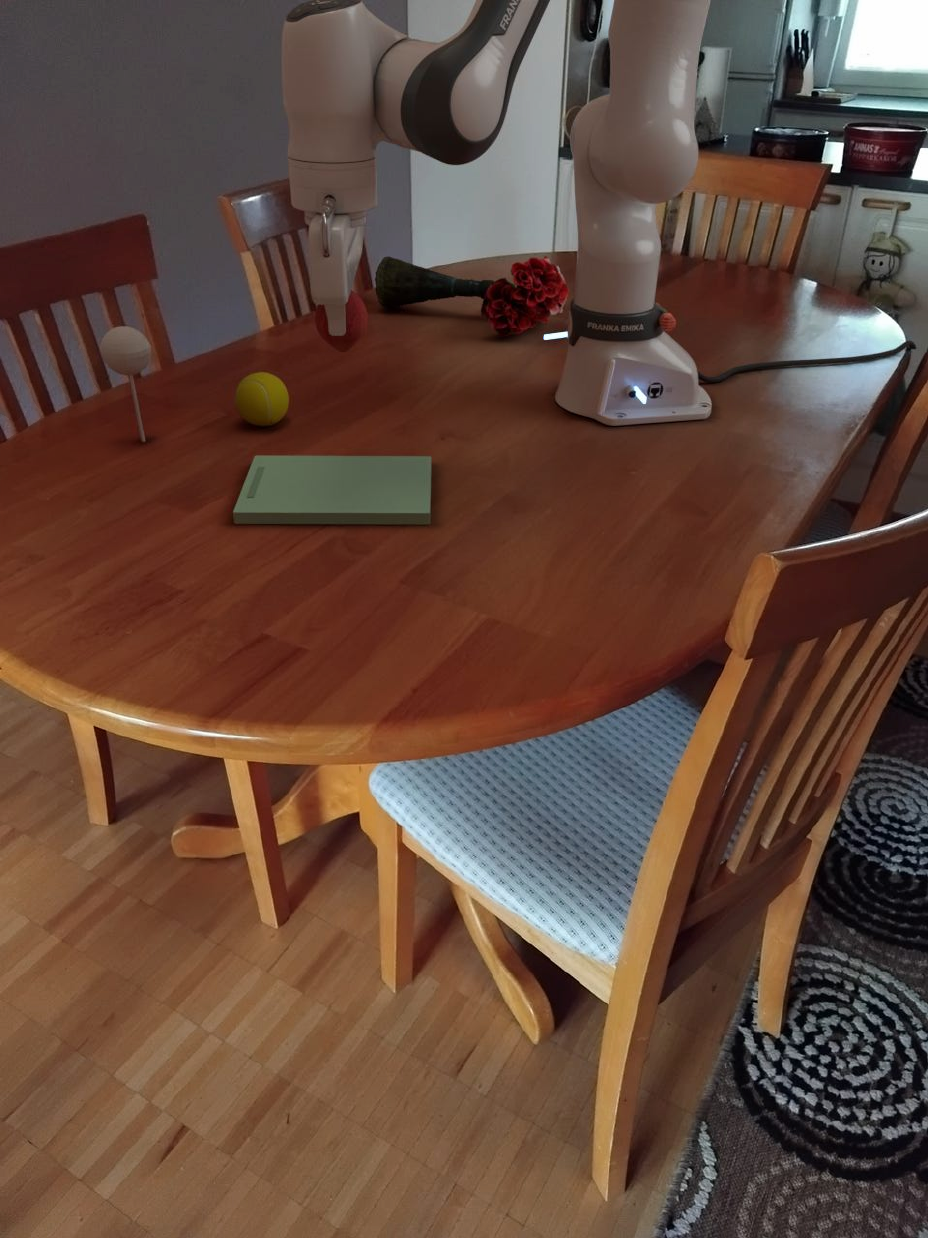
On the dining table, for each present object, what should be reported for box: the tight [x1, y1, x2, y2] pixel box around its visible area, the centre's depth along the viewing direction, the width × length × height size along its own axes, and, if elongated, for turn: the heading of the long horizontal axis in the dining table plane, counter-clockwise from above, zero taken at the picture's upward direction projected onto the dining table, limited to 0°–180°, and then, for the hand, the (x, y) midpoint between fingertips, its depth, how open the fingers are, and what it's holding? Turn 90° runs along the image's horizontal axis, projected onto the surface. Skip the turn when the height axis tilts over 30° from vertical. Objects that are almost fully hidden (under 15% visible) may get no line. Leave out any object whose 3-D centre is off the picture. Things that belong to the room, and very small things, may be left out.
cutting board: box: [232, 454, 432, 526], centre depth 111 cm, size 22×15×2 cm
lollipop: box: [99, 325, 152, 443], centre depth 119 cm, size 6×6×15 cm
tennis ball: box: [234, 371, 290, 427], centre depth 127 cm, size 7×7×7 cm
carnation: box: [374, 255, 570, 338], centre depth 164 cm, size 16×18×35 cm
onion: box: [314, 289, 369, 353], centre depth 103 cm, size 6×6×8 cm
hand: (341, 323), depth 103 cm, fingers closed on onion, 6 cm apart
